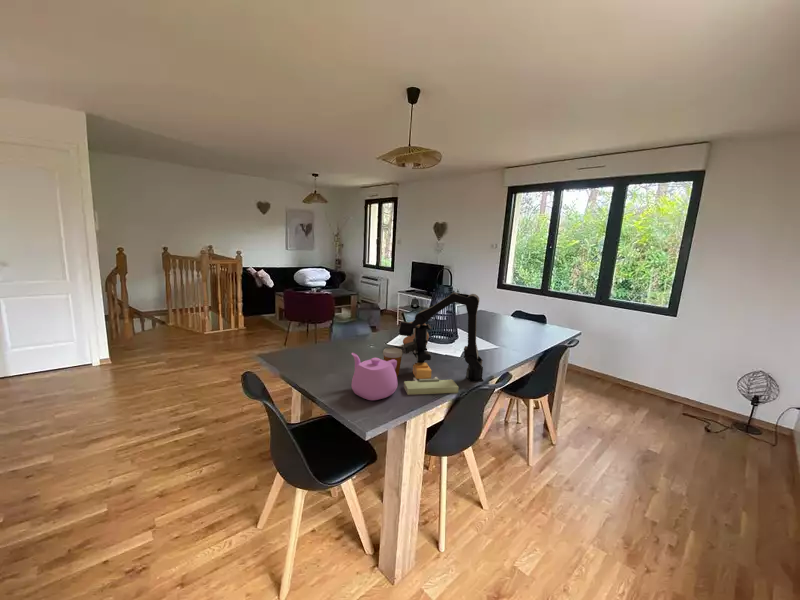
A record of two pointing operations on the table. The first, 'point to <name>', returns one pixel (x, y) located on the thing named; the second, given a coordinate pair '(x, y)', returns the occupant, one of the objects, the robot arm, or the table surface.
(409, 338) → the ceramic jug
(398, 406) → the table surface
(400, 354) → the disposable coffee cup
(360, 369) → the teapot
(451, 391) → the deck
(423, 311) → the robot arm
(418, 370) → the orange block with panel
